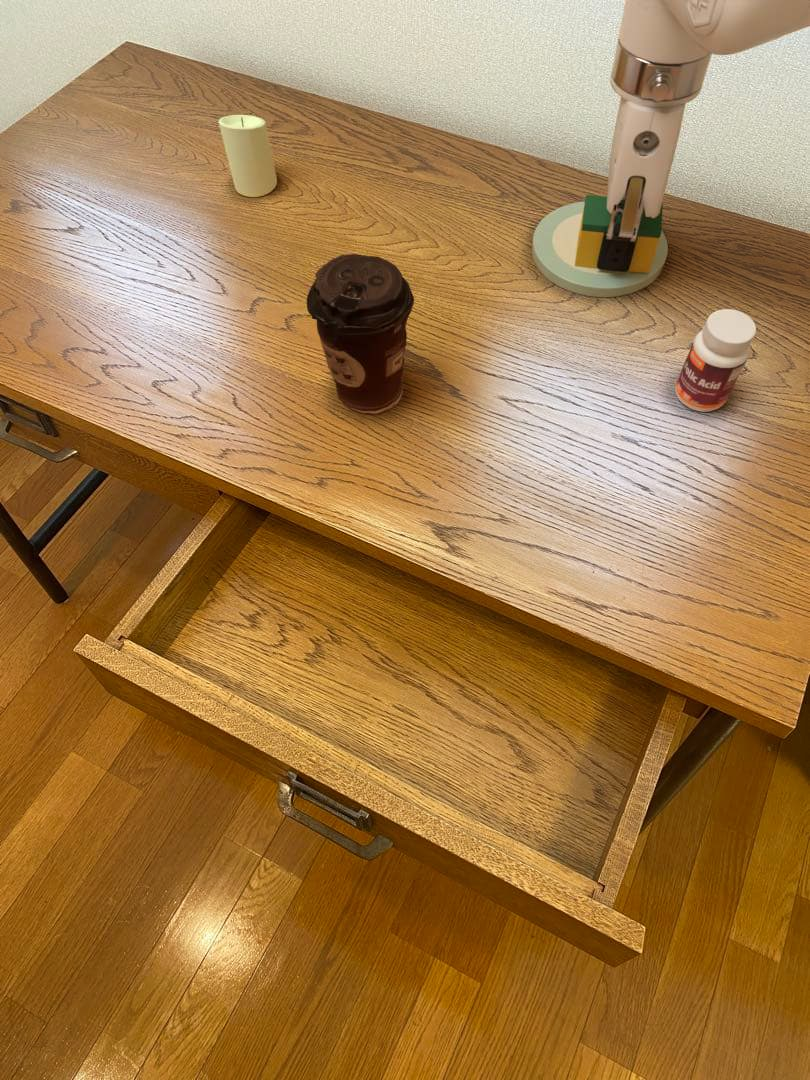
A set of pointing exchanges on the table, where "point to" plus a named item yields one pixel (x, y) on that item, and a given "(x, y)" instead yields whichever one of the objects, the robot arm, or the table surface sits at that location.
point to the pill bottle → (715, 360)
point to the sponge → (597, 224)
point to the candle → (248, 154)
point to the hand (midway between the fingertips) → (614, 249)
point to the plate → (559, 252)
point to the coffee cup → (362, 328)
